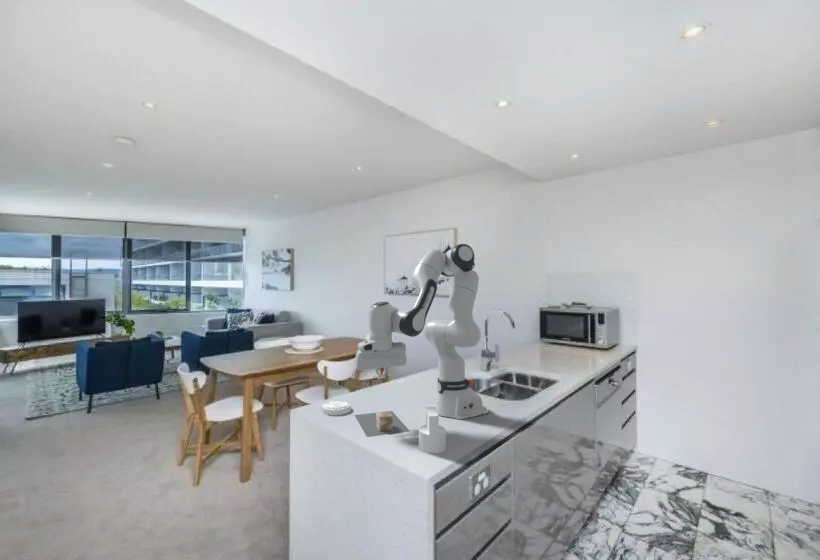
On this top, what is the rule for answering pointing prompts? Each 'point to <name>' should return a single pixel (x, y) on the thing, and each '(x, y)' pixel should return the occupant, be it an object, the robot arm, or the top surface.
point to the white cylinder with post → (432, 433)
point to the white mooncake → (336, 408)
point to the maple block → (384, 421)
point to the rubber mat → (370, 427)
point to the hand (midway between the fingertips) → (381, 378)
